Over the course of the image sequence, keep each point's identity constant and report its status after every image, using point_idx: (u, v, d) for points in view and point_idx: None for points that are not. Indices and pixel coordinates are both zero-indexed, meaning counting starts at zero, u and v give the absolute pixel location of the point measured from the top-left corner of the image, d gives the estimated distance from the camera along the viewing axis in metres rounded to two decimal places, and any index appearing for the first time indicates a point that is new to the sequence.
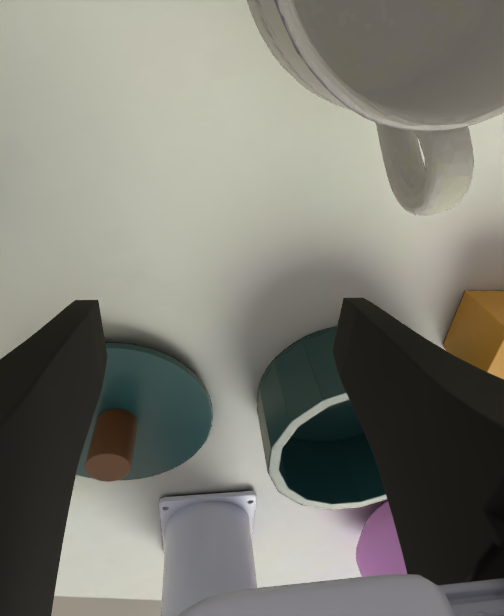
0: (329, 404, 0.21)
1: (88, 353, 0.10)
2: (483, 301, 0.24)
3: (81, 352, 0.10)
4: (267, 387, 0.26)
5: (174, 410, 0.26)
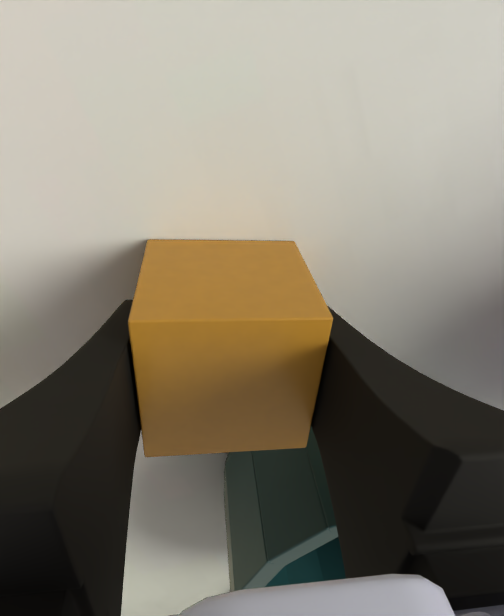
0: None
1: None
2: None
3: None
4: None
5: None
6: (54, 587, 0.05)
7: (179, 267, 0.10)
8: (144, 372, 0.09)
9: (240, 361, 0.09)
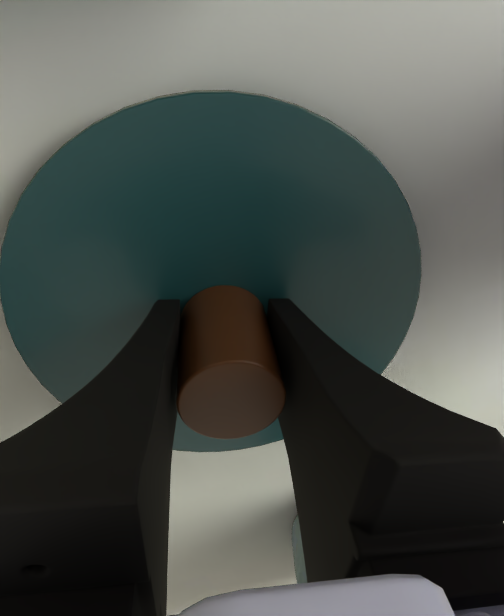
0: None
1: (177, 351, 0.10)
2: None
3: (174, 350, 0.10)
4: None
5: (192, 201, 0.10)
6: (125, 580, 0.05)
7: None
8: None
9: None
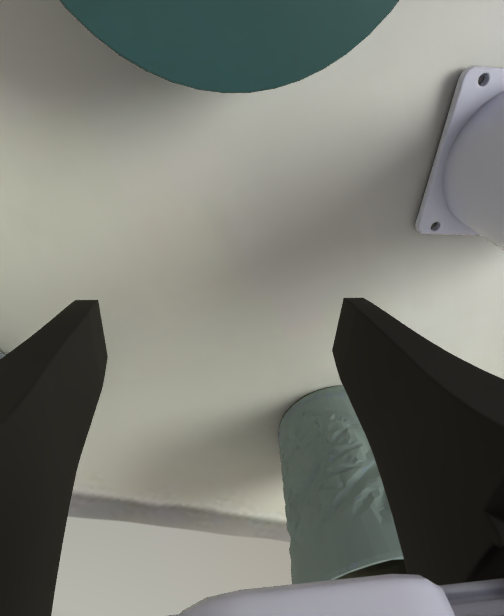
0: None
1: (88, 353, 0.10)
2: None
3: (81, 352, 0.10)
4: None
5: None
6: None
7: None
8: None
9: None
